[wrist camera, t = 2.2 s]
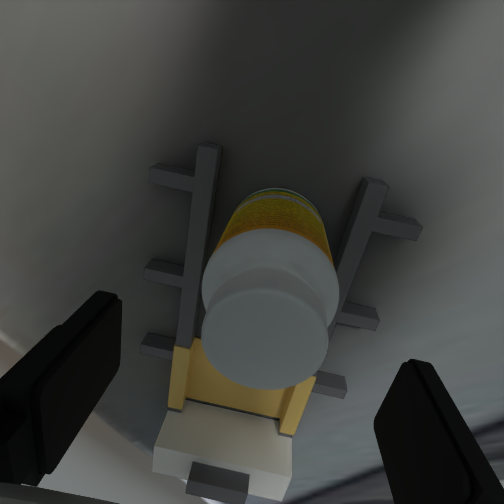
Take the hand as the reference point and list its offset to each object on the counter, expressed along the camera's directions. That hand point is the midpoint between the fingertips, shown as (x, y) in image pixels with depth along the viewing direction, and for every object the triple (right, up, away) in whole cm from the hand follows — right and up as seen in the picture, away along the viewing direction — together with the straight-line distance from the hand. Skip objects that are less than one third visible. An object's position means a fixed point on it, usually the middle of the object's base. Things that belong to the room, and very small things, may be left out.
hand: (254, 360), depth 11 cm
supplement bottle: (+1, +5, +8) cm, 10 cm away
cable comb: (0, -2, +11) cm, 11 cm away
